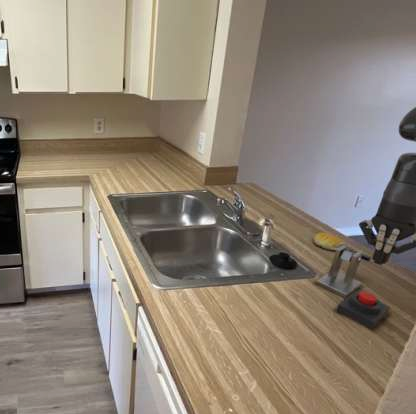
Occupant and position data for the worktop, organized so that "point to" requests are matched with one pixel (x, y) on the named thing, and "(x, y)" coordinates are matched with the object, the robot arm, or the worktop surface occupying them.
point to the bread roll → (328, 241)
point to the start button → (367, 298)
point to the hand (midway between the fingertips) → (378, 262)
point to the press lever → (348, 255)
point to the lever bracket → (341, 275)
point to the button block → (363, 310)
